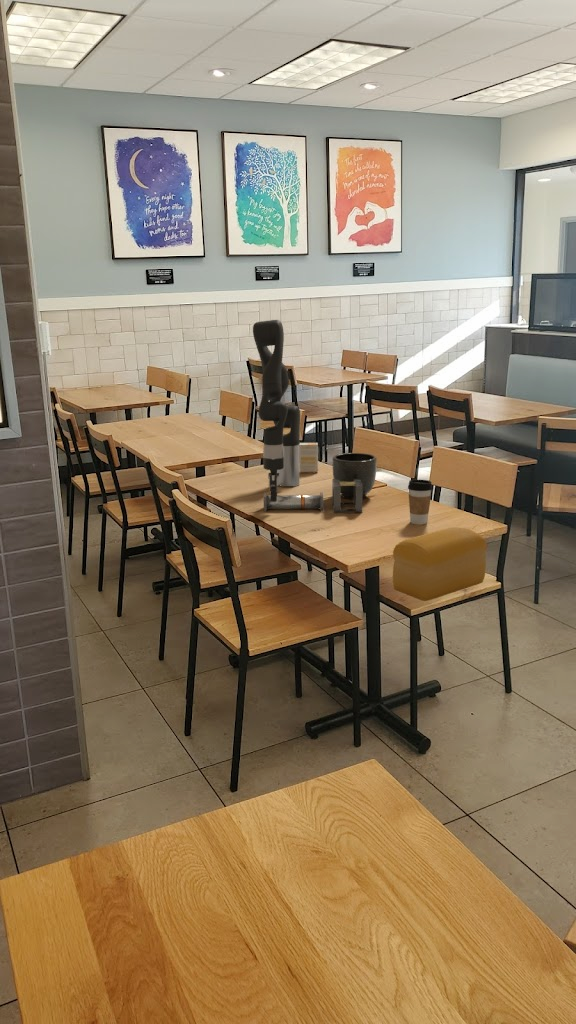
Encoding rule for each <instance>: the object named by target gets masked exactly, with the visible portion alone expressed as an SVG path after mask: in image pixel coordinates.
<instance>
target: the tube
mask: <svg viewBox="0 0 576 1024" xmlns="http://www.w3.org/2000/svg"><path fill="white" fill-rule="evenodd" d="M268 509H269V510H273V509H274V510H275V509H276V510H280V509H281V510H286V509H288V510H289V509H290V510H291V509H295V510H296V509H297V510H298V509H301V510H305V509H308V510H309V509H319V511H320V512H323V511H324V493H323V492H320V493H319V494H295V495H294V494H289V495H288V494H287V495H286V494H283V495H280V494H277V501H276V502H271V494H270V495H268V492H263V511H264V510H268Z"/></svg>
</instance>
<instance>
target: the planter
mask: <svg viewBox="0 0 576 1024" xmlns="http://www.w3.org/2000/svg"><path fill="white" fill-rule="evenodd" d="M377 461H378V460H377V455H374V454H369V453H364V452H363V453H361V452H348V453H347V452H345V453H344V452H343V453H338V454H335V455H333V456H332V479H339V482H354V479H360V480H361V483H362V486H363V497H362V499H365V498H366V496H367V495H368V494H369V493H370V492H371V491H372V489H373V488H374V485H375V482H376V476H377ZM341 495H342V497H343V498H345V499H347V500H353V486H341Z"/></svg>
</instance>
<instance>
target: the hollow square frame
mask: <svg viewBox="0 0 576 1024" xmlns="http://www.w3.org/2000/svg"><path fill="white" fill-rule="evenodd" d="M331 483H332V484H331V486H332V489H331V494H332V495H331V499H332V500H331V503H332V505H331V506H332V507H333V514H363V498H362V497H363V486H362V483H361V480H360V479H354V482H339V479H333V478H332V482H331ZM341 486H353V499H352V501H351V502H349V501H348V502H346V501H344V502H341V498H342V497H341V495H342V494H341ZM341 507H355V508H345V509H344V508H341Z"/></svg>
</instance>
